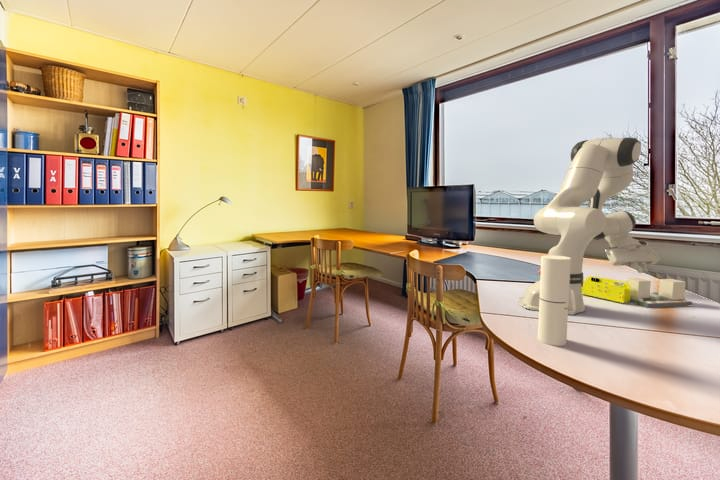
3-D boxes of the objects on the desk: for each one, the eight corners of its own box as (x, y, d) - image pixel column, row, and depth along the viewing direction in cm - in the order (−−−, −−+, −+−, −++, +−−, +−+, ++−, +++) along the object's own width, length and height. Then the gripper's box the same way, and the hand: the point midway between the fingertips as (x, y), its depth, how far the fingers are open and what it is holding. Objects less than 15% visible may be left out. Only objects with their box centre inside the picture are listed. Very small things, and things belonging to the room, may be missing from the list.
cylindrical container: (532, 336, 92) (535, 255, 90) (554, 334, 93) (558, 254, 90) (548, 346, 85) (552, 259, 83) (572, 345, 86) (577, 258, 83)
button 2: (671, 299, 117) (673, 282, 116) (655, 295, 123) (656, 278, 122) (684, 299, 117) (685, 281, 116) (667, 294, 123) (668, 278, 122)
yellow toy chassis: (630, 302, 121) (631, 282, 120) (622, 305, 119) (624, 284, 118) (585, 293, 135) (586, 275, 134) (578, 295, 133) (579, 276, 132)
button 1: (637, 298, 119) (638, 281, 118) (623, 294, 125) (624, 277, 125) (649, 298, 119) (650, 280, 119) (634, 293, 126) (635, 277, 125)
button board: (647, 307, 114) (647, 301, 114) (616, 297, 127) (617, 291, 127) (691, 305, 115) (692, 299, 115) (656, 296, 128) (657, 290, 128)
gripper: (607, 243, 136) (625, 268, 127) (650, 242, 137) (671, 267, 128) (598, 251, 141) (615, 276, 132) (640, 250, 142) (660, 275, 133)
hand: (643, 272), depth 130 cm, fingers closed
